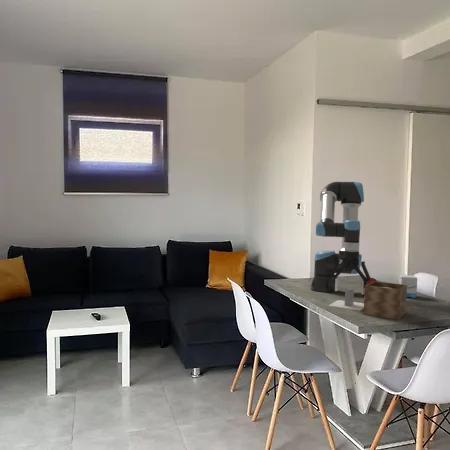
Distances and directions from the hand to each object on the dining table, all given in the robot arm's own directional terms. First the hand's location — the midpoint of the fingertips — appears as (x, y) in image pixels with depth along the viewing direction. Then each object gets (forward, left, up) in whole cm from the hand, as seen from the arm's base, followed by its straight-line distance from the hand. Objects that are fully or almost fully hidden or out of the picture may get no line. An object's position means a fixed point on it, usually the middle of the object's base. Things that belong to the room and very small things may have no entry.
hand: (349, 292), depth 238 cm
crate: (+19, -6, -7) cm, 21 cm away
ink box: (+20, +46, -7) cm, 51 cm away
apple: (+2, +32, -7) cm, 33 cm away
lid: (0, 0, -7) cm, 7 cm away
